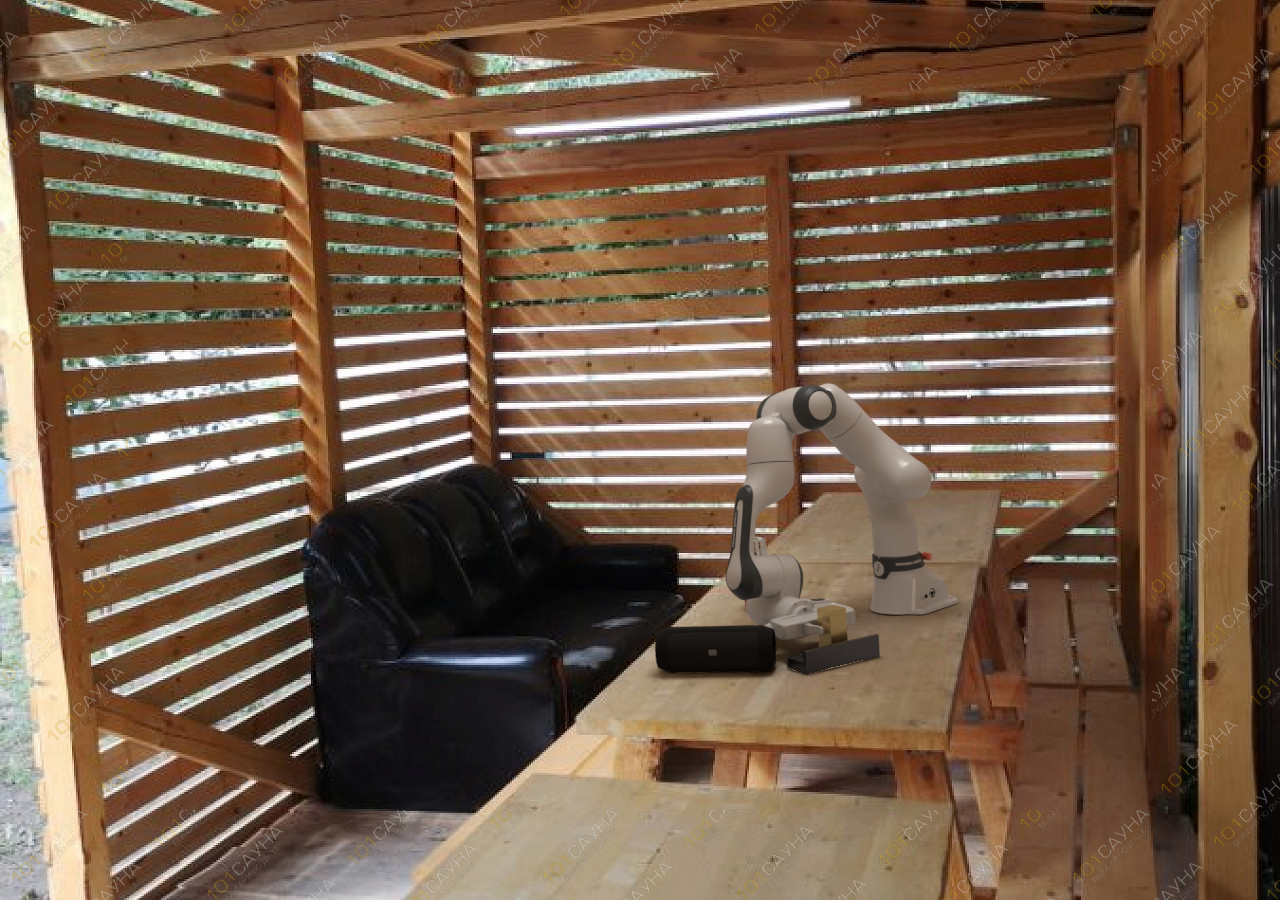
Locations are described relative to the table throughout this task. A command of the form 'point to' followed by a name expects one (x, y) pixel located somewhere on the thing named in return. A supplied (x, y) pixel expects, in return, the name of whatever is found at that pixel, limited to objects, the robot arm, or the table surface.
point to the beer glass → (760, 546)
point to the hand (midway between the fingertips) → (834, 628)
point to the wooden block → (832, 624)
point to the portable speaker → (716, 648)
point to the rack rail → (835, 654)
